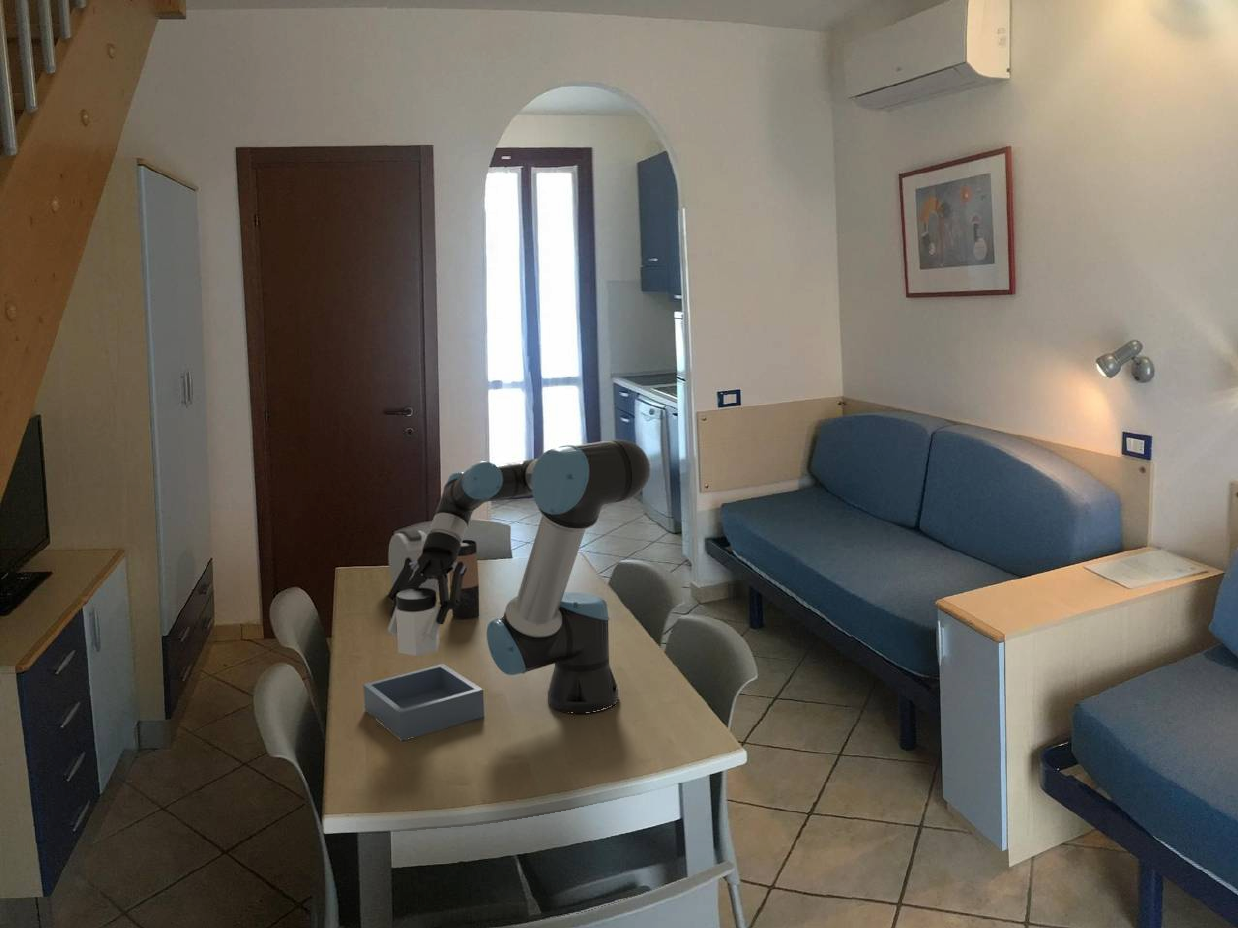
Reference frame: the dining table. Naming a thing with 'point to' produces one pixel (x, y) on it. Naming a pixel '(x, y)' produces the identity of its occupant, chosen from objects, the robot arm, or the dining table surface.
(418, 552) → the alarm clock
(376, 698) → the bin
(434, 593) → the jar
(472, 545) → the travel mug
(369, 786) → the dining table surface
